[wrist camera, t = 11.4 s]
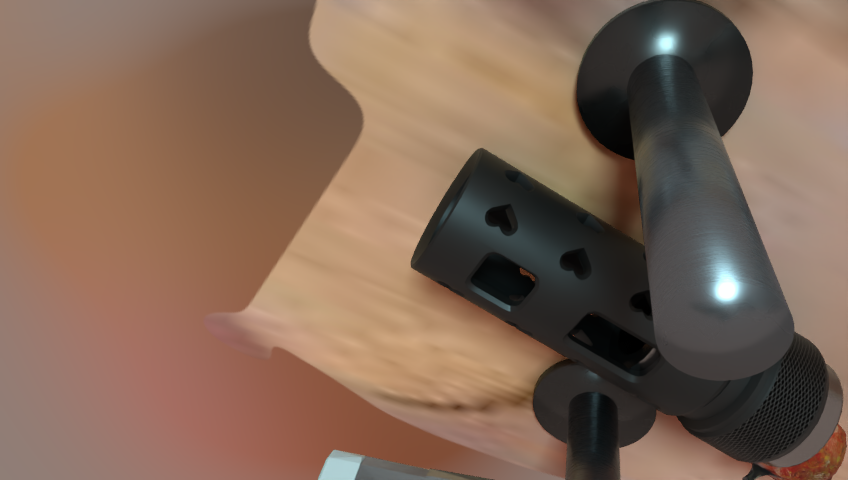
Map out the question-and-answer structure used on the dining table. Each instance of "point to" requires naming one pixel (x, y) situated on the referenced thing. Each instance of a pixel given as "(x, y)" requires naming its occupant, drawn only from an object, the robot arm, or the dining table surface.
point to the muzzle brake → (611, 313)
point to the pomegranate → (808, 463)
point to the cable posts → (672, 220)
